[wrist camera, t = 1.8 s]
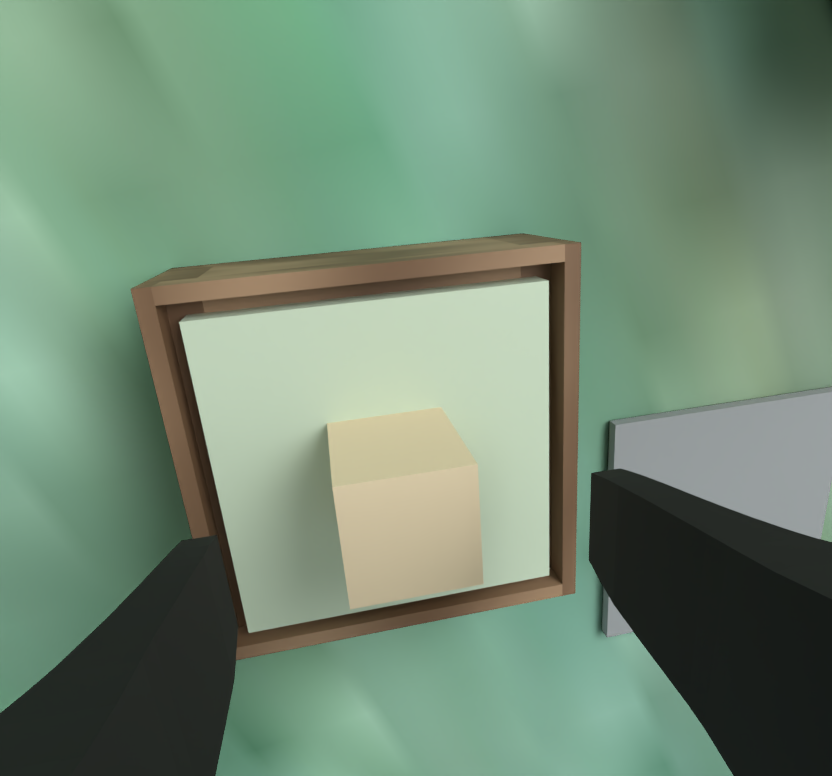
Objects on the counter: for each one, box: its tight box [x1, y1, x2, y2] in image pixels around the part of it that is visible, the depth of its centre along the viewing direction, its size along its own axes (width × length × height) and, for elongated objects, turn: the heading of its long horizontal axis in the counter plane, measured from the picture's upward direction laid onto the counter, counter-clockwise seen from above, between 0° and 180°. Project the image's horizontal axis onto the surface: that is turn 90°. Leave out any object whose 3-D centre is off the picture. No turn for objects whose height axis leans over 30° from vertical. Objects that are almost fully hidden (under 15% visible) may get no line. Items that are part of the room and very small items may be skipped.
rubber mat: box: [602, 387, 832, 637], centre depth 21 cm, size 9×9×1 cm
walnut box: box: [131, 234, 581, 660], centre depth 16 cm, size 10×10×4 cm
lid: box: [179, 276, 549, 633], centre depth 13 cm, size 8×8×4 cm
